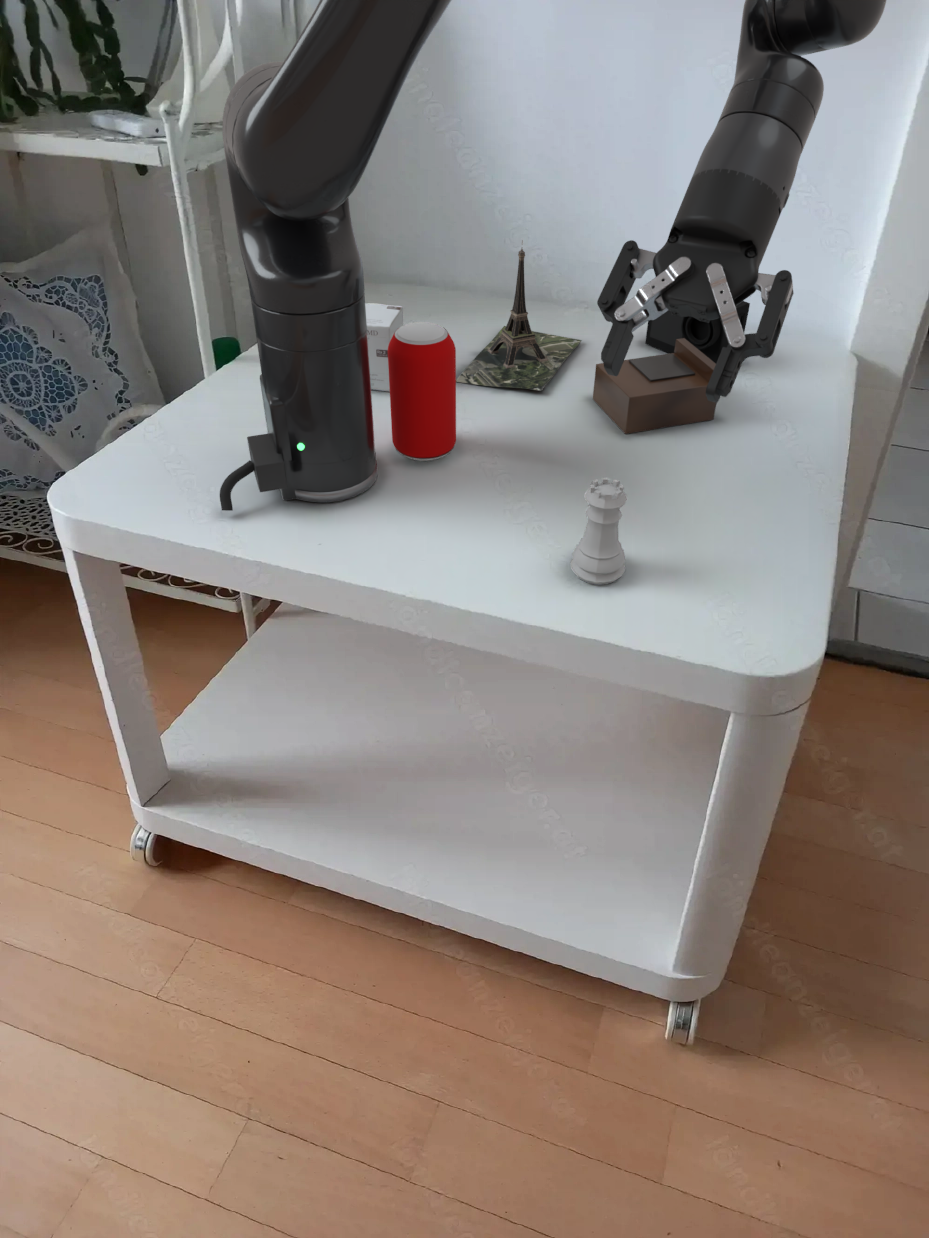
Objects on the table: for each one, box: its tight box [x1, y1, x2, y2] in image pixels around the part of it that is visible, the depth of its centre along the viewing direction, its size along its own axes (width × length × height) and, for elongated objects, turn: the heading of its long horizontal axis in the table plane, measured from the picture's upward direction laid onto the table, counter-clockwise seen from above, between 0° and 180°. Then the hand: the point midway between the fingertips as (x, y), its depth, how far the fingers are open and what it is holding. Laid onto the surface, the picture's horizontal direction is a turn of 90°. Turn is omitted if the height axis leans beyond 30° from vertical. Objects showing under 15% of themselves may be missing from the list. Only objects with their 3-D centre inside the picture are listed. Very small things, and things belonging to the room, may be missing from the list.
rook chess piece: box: [570, 477, 628, 586], centre depth 74 cm, size 4×4×8 cm
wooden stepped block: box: [592, 338, 717, 435], centre depth 96 cm, size 10×8×6 cm
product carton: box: [365, 302, 404, 392], centre depth 101 cm, size 6×6×7 cm
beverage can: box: [388, 321, 457, 462], centre depth 87 cm, size 6×6×12 cm
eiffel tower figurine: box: [456, 239, 583, 392], centre depth 102 cm, size 15×10×13 cm
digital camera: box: [644, 294, 751, 363], centre depth 106 cm, size 10×5×7 cm, turn 42°
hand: (659, 385), depth 74 cm, fingers open, 8 cm apart
